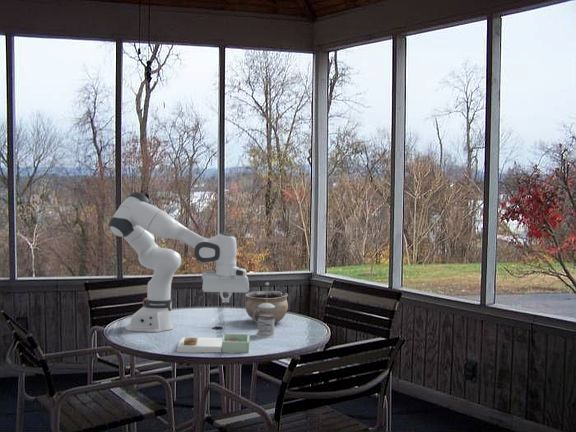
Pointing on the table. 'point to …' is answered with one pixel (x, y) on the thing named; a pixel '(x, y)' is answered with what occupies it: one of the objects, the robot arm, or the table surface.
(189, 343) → the teak tile
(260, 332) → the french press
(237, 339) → the walnut tile
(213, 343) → the white square board
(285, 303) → the ceramic bowl
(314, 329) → the table surface
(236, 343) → the tray
